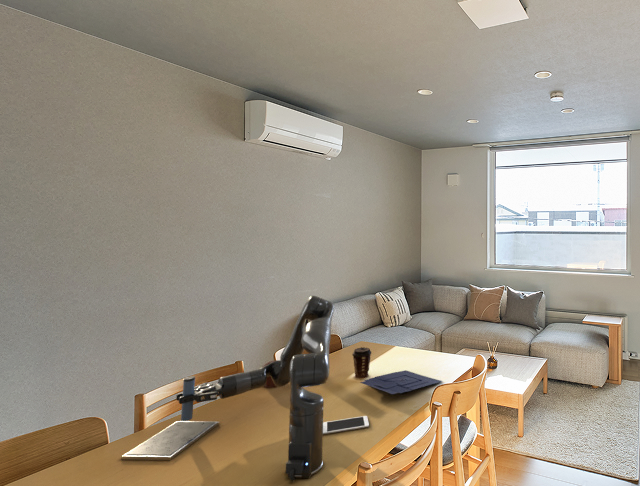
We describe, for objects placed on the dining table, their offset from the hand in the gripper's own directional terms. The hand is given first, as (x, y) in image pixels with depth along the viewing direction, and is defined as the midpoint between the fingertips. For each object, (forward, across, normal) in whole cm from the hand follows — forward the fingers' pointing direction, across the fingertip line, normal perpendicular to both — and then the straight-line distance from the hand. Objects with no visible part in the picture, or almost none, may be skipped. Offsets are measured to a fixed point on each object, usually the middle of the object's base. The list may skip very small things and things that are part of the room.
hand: (178, 399), depth 133 cm
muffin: (-40, -22, +12) cm, 47 cm away
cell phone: (-42, +36, +12) cm, 57 cm away
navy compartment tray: (-77, +22, +12) cm, 81 cm away
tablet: (+2, +4, +12) cm, 13 cm away
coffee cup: (-72, -1, +12) cm, 73 cm away
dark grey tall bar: (-3, 0, +8) cm, 8 cm away
